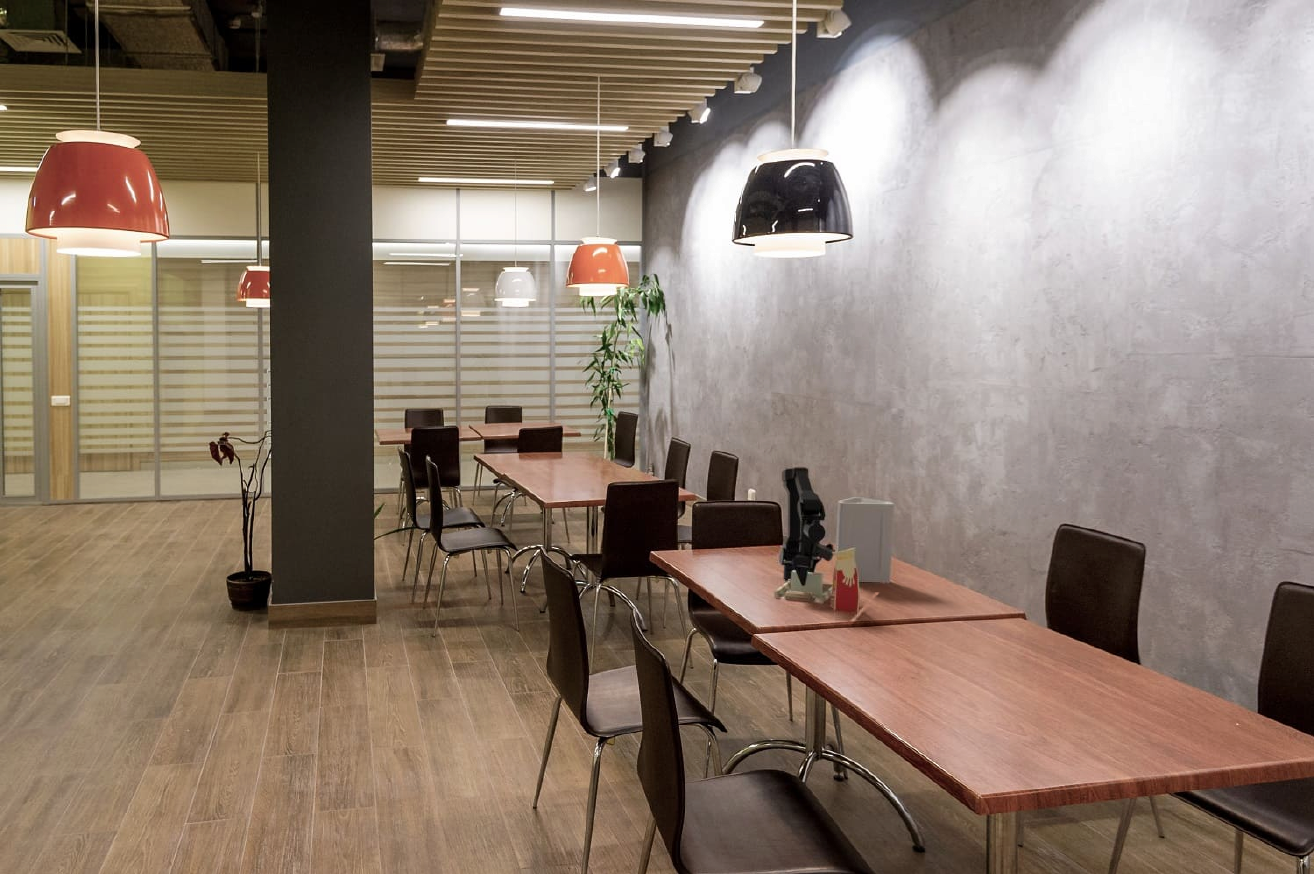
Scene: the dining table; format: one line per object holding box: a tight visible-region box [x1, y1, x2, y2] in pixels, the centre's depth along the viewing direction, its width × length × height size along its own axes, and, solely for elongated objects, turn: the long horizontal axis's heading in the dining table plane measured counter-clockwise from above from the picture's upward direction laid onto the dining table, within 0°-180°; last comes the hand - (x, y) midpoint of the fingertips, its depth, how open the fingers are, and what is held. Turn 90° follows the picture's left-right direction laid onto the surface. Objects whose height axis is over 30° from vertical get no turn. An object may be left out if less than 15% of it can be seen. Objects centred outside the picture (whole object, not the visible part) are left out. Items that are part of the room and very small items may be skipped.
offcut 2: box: [784, 596, 815, 603], centre depth 340 cm, size 4×9×1 cm, turn 68°
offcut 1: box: [785, 591, 812, 598], centre depth 340 cm, size 4×8×1 cm, turn 74°
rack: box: [773, 579, 833, 604], centre depth 347 cm, size 18×16×4 cm
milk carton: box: [829, 548, 861, 614], centre depth 330 cm, size 9×9×20 cm
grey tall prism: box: [834, 497, 895, 583], centre depth 378 cm, size 19×15×28 cm
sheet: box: [791, 570, 824, 596], centre depth 348 cm, size 2×10×7 cm, turn 68°
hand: (806, 582), depth 348 cm, fingers open, 9 cm apart
